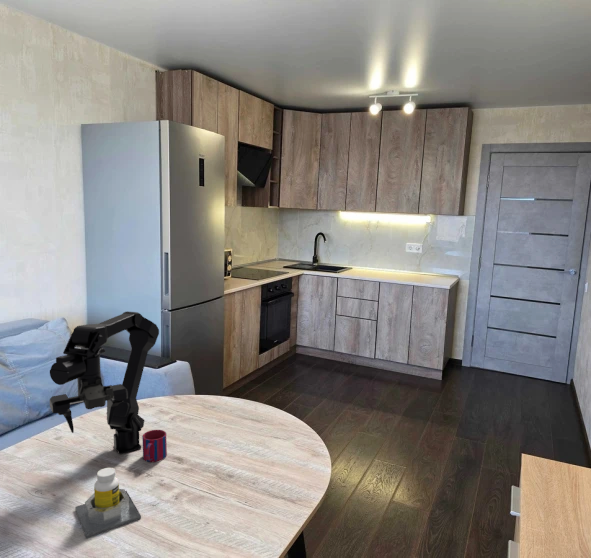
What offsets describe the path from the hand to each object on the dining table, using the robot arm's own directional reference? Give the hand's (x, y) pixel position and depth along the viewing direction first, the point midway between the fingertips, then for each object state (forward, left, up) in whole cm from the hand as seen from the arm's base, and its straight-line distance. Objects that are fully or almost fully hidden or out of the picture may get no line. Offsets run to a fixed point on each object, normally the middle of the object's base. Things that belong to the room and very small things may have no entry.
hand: (90, 428), depth 126 cm
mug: (-16, +2, -13) cm, 21 cm away
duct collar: (+1, +21, -13) cm, 25 cm away
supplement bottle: (+1, +21, -12) cm, 24 cm away
